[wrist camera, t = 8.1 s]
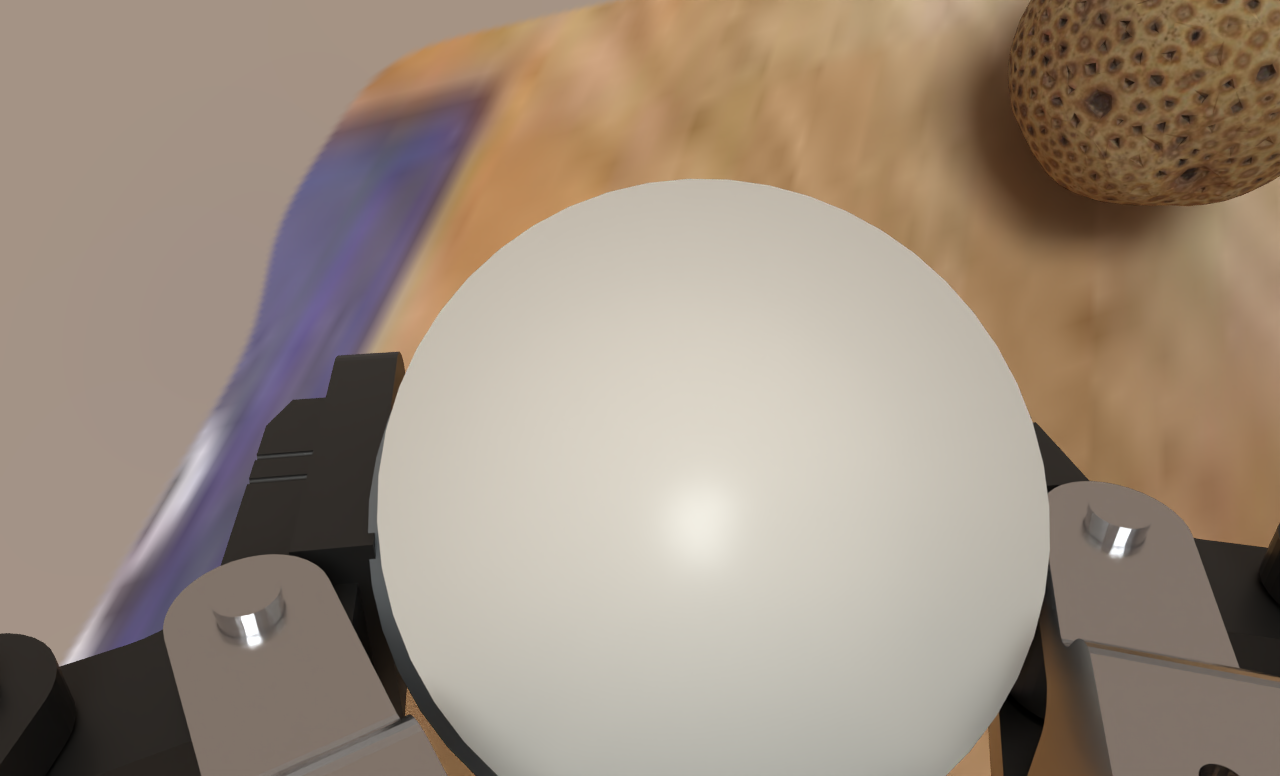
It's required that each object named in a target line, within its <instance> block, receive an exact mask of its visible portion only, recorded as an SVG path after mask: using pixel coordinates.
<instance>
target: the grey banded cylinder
mask: <svg viewBox="0 0 1280 776" xmlns="http://www.w3.org/2000/svg"><path fill="white" fill-rule="evenodd" d="M368 533H375V555H376V559H369V561H370V571H371V581H372V589H373V593H374V597H375V601H376V605H377V609H378V614H379V618H380V622H381V626H382V630H383V633H384V635H385V638H386V640H387V643H388V646H389V648H390V651H391V653H392V656H393V658H394V661H395V664H396V666H397V669H398V671H399V673H400V675H401V677H402V679H403V680H404V682H405V684H406V686H407V688H408V689H409V691H410V693H411V695H412V697H413V698H414V700H415V702H416V704H417V706H418V707H419V709H420V711H421V712H422V714H423V715H424V716H425V718H426V719H427V720H428V722H429V723H430V724H431V726H432V727H433V728H434V730H435V731H436V732H437V734H438V735H439V736H440V738H441V739H442V740H443V742H444V743H445V744H446V746H447V747H448V748H449V749H450V750H451V751H452V752H453V753H454V754H455V755H456V756H457V757H458V758H459V759H460V760H461V761H462V762H463V763H464V764H465V765H466V766H467V767H468V768H469V769H470V770H471V771H472V772H473V773H474V774H475V775H476V776H946V775H947V774H948V773H949V772H950V771H951V770H952V769H953V768H954V767H955V766H956V765H957V764H958V763H959V762H960V761H961V760H962V759H963V758H964V757H965V756H966V755H967V754H968V753H969V752H970V751H971V749H972V748H973V747H974V745H975V744H976V743H977V741H978V740H979V739H980V737H981V736H982V735H983V733H984V732H985V731H986V729H987V728H988V727H989V725H990V724H991V723H992V721H993V720H994V719H995V717H996V716H997V714H998V712H999V711H1000V709H1001V707H1002V705H1003V703H1004V702H1005V700H1006V698H1007V696H1008V694H1009V693H1010V691H1011V689H1012V687H1013V685H1014V684H1015V682H1016V680H1017V678H1018V676H1019V674H1020V671H1021V669H1022V666H1023V663H1024V661H1025V658H1026V656H1027V653H1028V651H1029V648H1030V646H1031V643H1032V640H1033V638H1034V635H1035V631H1036V627H1037V623H1038V619H1039V615H1040V611H1041V607H1042V603H1043V599H1044V595H1045V587H1046V579H1047V570H1048V561H1049V552H1050V526H1049V501H1048V494H1047V486H1046V479H1045V472H1044V464H1043V460H1042V457H1041V453H1040V449H1039V445H1038V441H1037V438H1036V434H1035V430H1034V426H1033V422H1032V420H1031V417H1030V415H1029V412H1028V410H1027V407H1026V405H1025V402H1024V400H1023V397H1022V395H1021V392H1020V389H1019V387H1018V384H1017V382H1016V380H1015V379H1014V377H1013V375H1012V373H1011V371H1010V369H1009V367H1008V366H1007V364H1006V362H1005V360H1004V358H1003V356H1002V354H1001V353H1000V351H999V349H998V347H997V345H996V344H995V343H994V341H993V340H992V338H991V337H990V335H989V334H988V333H987V331H986V330H985V328H984V327H983V325H982V324H981V323H980V321H979V320H978V318H977V317H976V315H975V314H974V313H973V311H972V310H971V309H970V308H969V307H968V306H967V305H966V303H965V302H964V301H963V300H962V299H961V298H960V297H959V296H958V294H957V293H956V292H955V291H954V290H953V289H952V288H951V287H950V285H949V284H948V283H947V282H946V281H945V280H944V279H943V278H942V277H940V276H939V275H938V274H937V273H936V272H935V271H934V270H933V269H931V268H930V267H929V266H928V265H927V264H926V263H925V262H924V261H923V260H921V259H920V258H919V257H918V256H917V255H916V254H915V253H913V252H912V251H910V250H909V249H907V248H906V247H905V246H903V245H902V244H900V243H899V242H898V241H896V240H895V239H893V238H892V237H890V236H889V235H888V234H886V233H885V232H883V231H882V230H880V229H878V228H876V227H875V226H873V225H871V224H869V223H867V222H865V221H864V220H862V219H860V218H858V217H856V216H854V215H852V214H851V213H849V212H847V211H845V210H842V209H840V208H837V207H835V206H832V205H830V204H827V203H825V202H822V201H820V200H817V199H815V198H812V197H810V196H807V195H803V194H799V193H796V192H792V191H788V190H784V189H781V188H777V187H773V186H769V185H763V184H756V183H749V182H742V181H735V180H720V179H682V180H673V181H663V182H653V183H646V184H642V185H637V186H633V187H629V188H625V189H620V190H616V191H612V192H608V193H605V194H602V195H600V196H597V197H594V198H591V199H589V200H586V201H583V202H581V203H578V204H575V205H573V206H570V207H568V208H566V209H564V210H562V211H560V212H558V213H556V214H555V215H553V216H551V217H549V218H547V219H545V220H543V221H541V222H539V223H537V224H535V225H534V226H532V227H531V228H529V229H528V230H526V231H525V232H524V233H522V234H521V235H519V236H518V237H516V238H515V239H514V240H512V241H511V242H509V243H508V244H506V245H505V246H504V247H502V248H501V249H499V250H498V251H497V252H496V253H495V254H494V255H493V256H492V257H491V258H489V259H488V260H487V261H486V262H485V263H484V264H483V265H482V266H481V267H480V268H479V269H477V270H476V271H475V272H474V273H473V274H472V275H471V276H470V277H469V278H468V279H467V280H466V281H465V282H464V284H463V285H462V286H461V287H460V288H459V290H458V291H457V292H456V293H455V294H454V296H453V297H452V298H451V299H450V300H449V302H448V303H447V304H446V305H445V306H444V307H443V309H442V310H441V311H440V313H439V314H438V316H437V318H436V319H435V321H434V322H433V324H432V325H431V327H430V329H429V330H428V332H427V333H426V335H425V336H424V338H423V340H422V341H421V343H420V344H419V346H418V348H417V350H416V352H415V354H414V356H413V358H412V361H411V363H410V365H409V367H408V369H407V371H406V374H405V376H404V378H403V380H402V382H401V384H400V387H399V389H398V393H397V396H396V399H395V402H394V406H393V409H392V411H391V414H390V416H389V418H388V421H387V424H386V428H385V431H384V434H383V437H382V441H381V444H380V447H379V450H378V454H377V457H376V462H375V468H374V474H373V480H372V486H371V492H370V498H369V519H368Z"/></svg>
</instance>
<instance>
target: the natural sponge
mask: <svg viewBox="0 0 1280 776" xmlns="http://www.w3.org/2000/svg"><path fill="white" fill-rule="evenodd" d="M1008 84H1009V91H1010V98H1011V106H1012V110H1013V112H1014V115H1015V117H1016V120H1017V122H1018V125H1019V127H1020V129H1021V131H1022V133H1023V135H1024V137H1025V139H1026V141H1027V143H1028V145H1029V147H1030V149H1031V151H1032V153H1033V154H1034V155H1035V157H1036V158H1037V160H1038V161H1039V162H1040V164H1041V165H1042V167H1043V168H1044V169H1045V171H1046V172H1047V174H1048V175H1049V176H1051V177H1052V178H1053V179H1054V180H1055V181H1056V182H1057V183H1058V184H1060V185H1061V186H1063V187H1065V188H1067V189H1068V190H1070V191H1072V192H1074V193H1076V194H1080V195H1083V196H1086V197H1088V198H1092V199H1095V200H1098V201H1101V202H1110V203H1118V204H1126V205H1178V206H1194V205H1204V204H1210V203H1216V202H1222V201H1226V200H1229V199H1232V198H1235V197H1238V196H1241V195H1244V194H1246V193H1248V192H1250V191H1252V190H1255V189H1257V188H1259V187H1261V186H1263V185H1265V184H1267V183H1269V182H1271V181H1272V180H1274V179H1276V178H1277V177H1279V176H1280V0H1031V1H1030V3H1029V5H1028V7H1027V8H1026V10H1025V12H1024V14H1023V16H1022V18H1021V20H1020V22H1019V25H1018V28H1017V31H1016V34H1015V37H1014V40H1013V43H1012V47H1011V52H1010V59H1009V64H1008Z"/></svg>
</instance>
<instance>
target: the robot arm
mask: <svg viewBox="0 0 1280 776" xmlns="http://www.w3.org/2000/svg"><path fill="white" fill-rule="evenodd" d="M404 376H405V369H404V363H403V359H402V355H401V353H400V352H388V353H372V354H356V355H341V356H337V357H336V359H335V362H334V366H333V370H332V375H331V379H330V383H329V387H328V391H327V395H326V398H314V399H299V400H292V401H291V402H290V403H289V404H288V405H287V406H286V407H285V408H284V409H283V410H282V411H281V412H280V413H279V414H278V415H277V416H276V417H275V418H274V419H273V420H272V421H271V422H270V423H269V424H268V425H267V426H266V428H265V431H264V435H263V438H262V441H261V444H260V447H259V450H258V453H257V460H255V462H254V465H253V468H252V471H251V474H250V477H249V480H250V484H247V487H246V490H245V493H244V496H243V499H242V502H241V505H240V508H239V511H238V514H237V517H236V520H235V523H234V527H233V530H232V533H231V536H230V539H229V542H228V545H227V548H226V551H225V554H224V557H223V560H222V563H221V566H219V567H217V568H215V569H213V570H211V571H210V572H208V573H206V574H204V575H203V576H201V577H200V578H198V579H197V580H195V581H194V582H192V583H191V584H190V585H189V586H188V587H186V588H185V589H184V590H183V591H182V592H181V593H180V594H179V596H178V597H177V598H176V599H175V600H174V602H173V603H172V605H171V606H170V608H169V610H168V612H167V614H166V617H165V620H164V626H163V630H161V631H159V632H157V633H155V634H153V635H151V636H149V637H147V638H145V639H142V640H139V641H137V642H134V643H131V644H129V645H126V646H123V647H119V648H116V649H113V650H110V651H107V652H104V653H101V654H98V655H95V656H92V657H88V658H85V659H82V660H79V661H76V662H73V663H70V664H67V665H64V666H60V667H59V665H58V663H57V661H56V658H55V656H54V654H53V653H52V651H51V649H50V648H49V647H47V646H46V645H45V644H44V643H43V642H41V641H39V640H37V639H35V638H33V637H29V636H26V635H21V634H10V633H8V634H7V633H6V634H0V776H447V774H446V772H445V770H444V769H443V767H442V765H441V763H440V761H439V759H438V757H437V755H436V753H435V751H434V749H433V747H432V746H431V744H430V742H429V740H428V738H427V736H426V734H425V733H424V731H423V729H422V728H421V726H420V724H419V723H418V722H417V720H416V719H415V718H414V717H413V716H412V715H407V716H405V706H406V692H407V686H406V684H405V682H404V680H403V679H402V677H401V675H400V673H399V671H398V669H397V666H396V664H395V661H394V658H393V656H392V653H391V651H390V648H389V646H388V643H387V640H386V638H385V635H384V633H383V630H382V626H381V622H380V618H379V614H378V609H377V605H376V601H375V597H374V593H373V589H372V581H371V571H370V561H369V559H376V555H375V533H368V519H369V498H370V492H371V486H372V480H373V474H374V468H375V462H376V457H377V454H378V450H379V447H380V444H381V441H382V437H383V434H384V431H385V428H386V424H387V421H388V418H389V416H390V414H391V411H392V409H393V406H394V402H395V399H396V396H397V393H398V389H399V387H400V384H401V382H402V380H403V378H404ZM1033 426H1034V430H1035V434H1036V438H1037V441H1038V445H1039V449H1040V453H1041V457H1042V460H1043V464H1044V472H1045V479H1046V486H1047V494H1048V501H1049V526H1050V552H1049V561H1048V570H1047V579H1046V587H1045V595H1044V599H1043V603H1042V607H1041V611H1040V615H1039V619H1038V623H1037V627H1036V631H1035V635H1034V638H1033V640H1032V643H1031V646H1030V648H1029V651H1028V653H1027V656H1026V658H1025V661H1024V663H1023V666H1022V669H1021V671H1020V674H1019V676H1018V678H1017V680H1016V682H1015V684H1014V685H1013V687H1012V689H1011V691H1010V693H1009V694H1008V696H1007V698H1006V700H1005V702H1004V703H1003V705H1002V707H1001V709H1000V711H999V712H998V714H997V716H996V717H995V719H994V720H993V721H992V723H991V724H990V725H989V727H988V732H989V749H990V766H991V776H1280V523H1279V526H1278V528H1277V530H1276V532H1275V534H1274V536H1273V539H1272V541H1271V543H1270V545H1269V547H1268V548H1265V547H1257V546H1249V545H1241V544H1233V543H1225V542H1218V541H1210V540H1202V539H1196V538H1193V536H1192V534H1191V532H1190V529H1189V528H1188V526H1187V525H1186V524H1185V522H1184V521H1183V520H1182V519H1181V518H1180V517H1179V516H1178V515H1177V514H1176V513H1175V512H1174V511H1172V510H1171V509H1170V508H1168V507H1167V506H1166V505H1164V504H1162V503H1161V502H1159V501H1157V500H1156V499H1154V498H1152V497H1150V496H1148V495H1145V494H1143V493H1141V492H1138V491H1136V490H1133V489H1130V488H1127V487H1123V486H1120V485H1115V484H1110V483H1105V482H1095V481H1089V480H1088V479H1087V478H1086V477H1085V476H1084V474H1083V473H1082V472H1081V471H1080V470H1079V469H1078V468H1077V467H1076V466H1075V465H1074V464H1073V462H1072V461H1071V460H1070V459H1069V458H1068V457H1067V456H1066V455H1065V454H1064V453H1063V452H1062V450H1061V449H1060V448H1059V447H1058V446H1057V445H1056V444H1055V443H1054V442H1053V441H1052V439H1051V438H1050V437H1049V436H1048V435H1047V434H1046V433H1045V432H1044V431H1043V430H1042V429H1041V427H1040V426H1039V425H1038V424H1037V423H1036V422H1035V423H1033Z"/></svg>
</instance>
